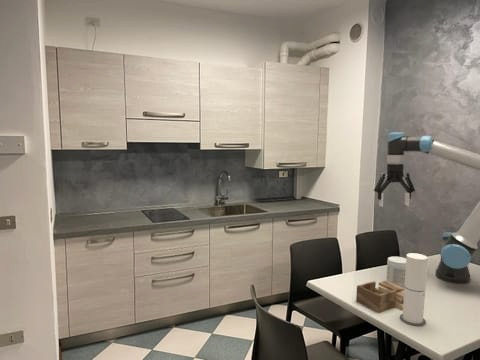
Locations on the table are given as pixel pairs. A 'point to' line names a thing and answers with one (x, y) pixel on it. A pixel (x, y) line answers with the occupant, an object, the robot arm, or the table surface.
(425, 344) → the table surface
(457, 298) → the table surface
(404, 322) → the rubber mat
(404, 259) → the supplement tub
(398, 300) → the offcut rack
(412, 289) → the cylindrical container
